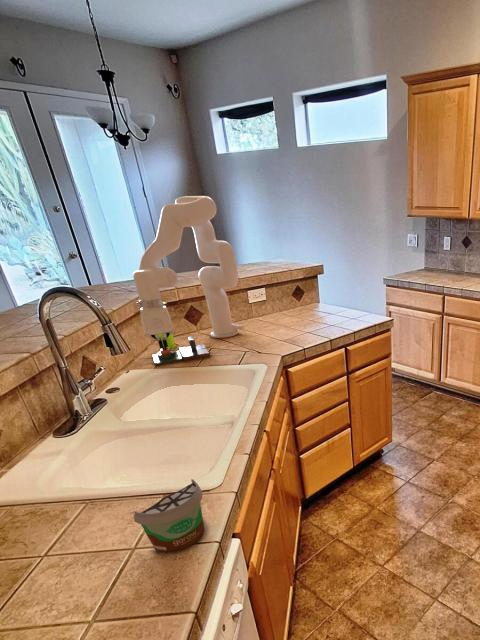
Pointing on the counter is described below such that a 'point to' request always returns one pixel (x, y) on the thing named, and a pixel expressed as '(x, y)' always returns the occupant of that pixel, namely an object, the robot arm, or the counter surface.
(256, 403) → the counter surface
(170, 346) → the soap dispenser
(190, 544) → the food container
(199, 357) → the panel
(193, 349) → the black block
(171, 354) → the button box
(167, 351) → the button
